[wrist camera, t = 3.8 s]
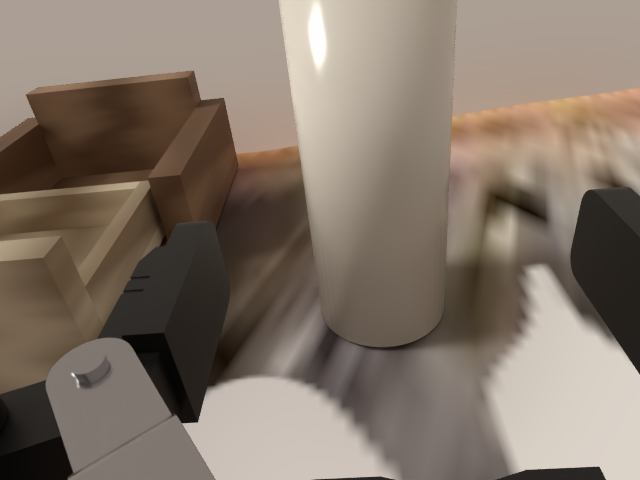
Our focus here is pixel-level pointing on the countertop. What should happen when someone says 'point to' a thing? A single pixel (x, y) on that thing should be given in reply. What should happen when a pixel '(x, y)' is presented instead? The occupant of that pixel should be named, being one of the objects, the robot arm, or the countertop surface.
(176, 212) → the box
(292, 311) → the countertop surface
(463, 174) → the countertop surface
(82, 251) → the wooden drawer
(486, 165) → the countertop surface
